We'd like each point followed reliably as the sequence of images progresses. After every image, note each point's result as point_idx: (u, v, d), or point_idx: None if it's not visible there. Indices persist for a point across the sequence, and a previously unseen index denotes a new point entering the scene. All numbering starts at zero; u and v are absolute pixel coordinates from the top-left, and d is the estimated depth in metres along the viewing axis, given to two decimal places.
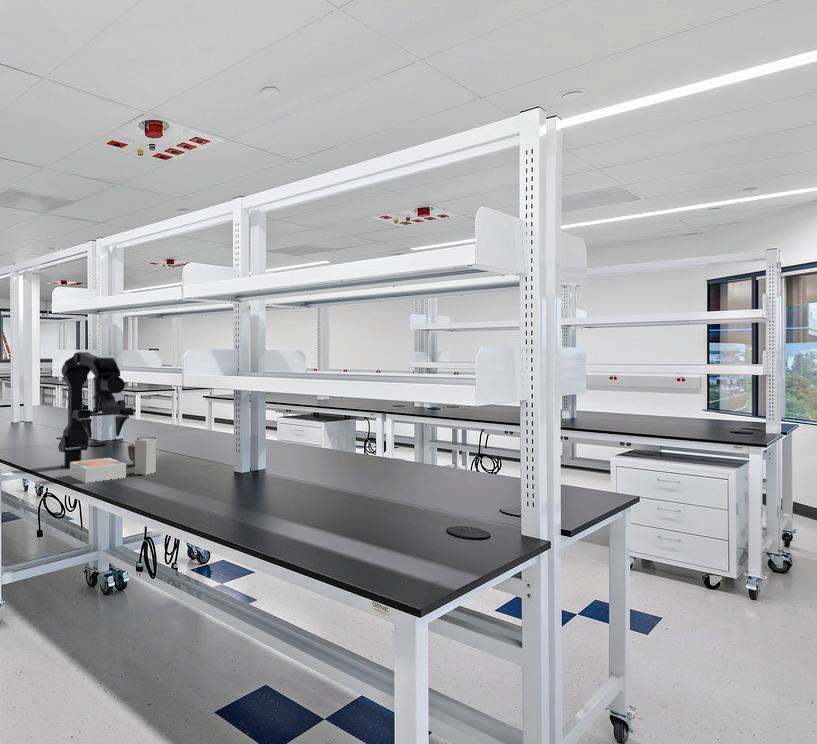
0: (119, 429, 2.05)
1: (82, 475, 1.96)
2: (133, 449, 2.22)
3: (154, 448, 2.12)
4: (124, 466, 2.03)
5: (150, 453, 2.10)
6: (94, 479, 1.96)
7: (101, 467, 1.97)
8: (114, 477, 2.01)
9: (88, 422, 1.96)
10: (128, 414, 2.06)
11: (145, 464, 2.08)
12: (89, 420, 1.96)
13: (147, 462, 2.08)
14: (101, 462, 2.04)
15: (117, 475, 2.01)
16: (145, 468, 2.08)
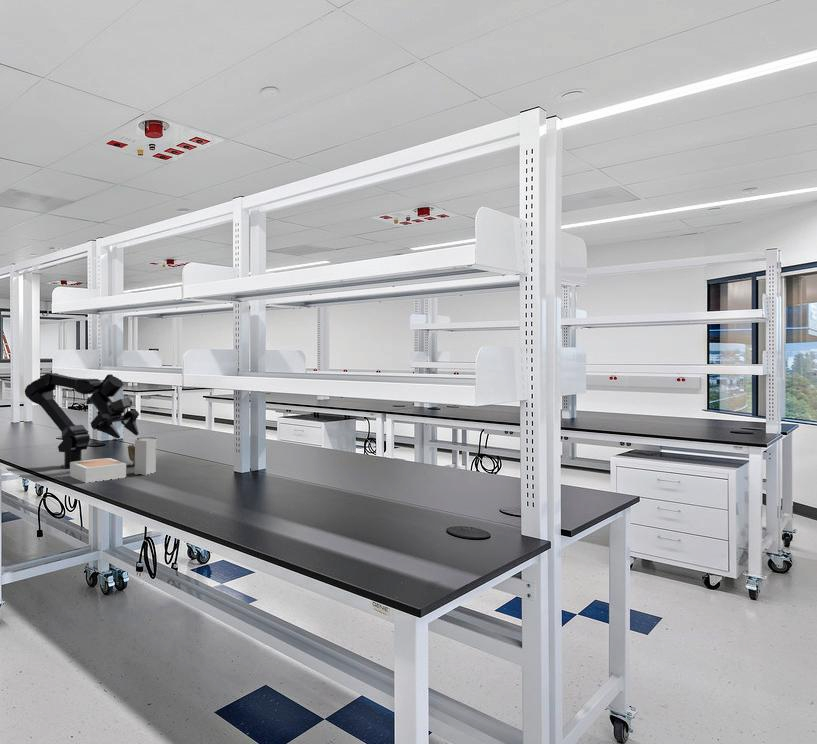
0: (135, 428, 2.18)
1: (82, 475, 1.96)
2: (133, 449, 2.22)
3: (154, 448, 2.12)
4: (124, 466, 2.03)
5: (150, 453, 2.10)
6: (94, 479, 1.96)
7: (101, 467, 1.97)
8: (114, 477, 2.01)
9: (110, 422, 2.08)
10: (135, 413, 2.21)
11: (145, 464, 2.08)
12: (110, 420, 2.08)
13: (147, 462, 2.08)
14: (101, 462, 2.04)
15: (117, 475, 2.01)
16: (145, 468, 2.08)
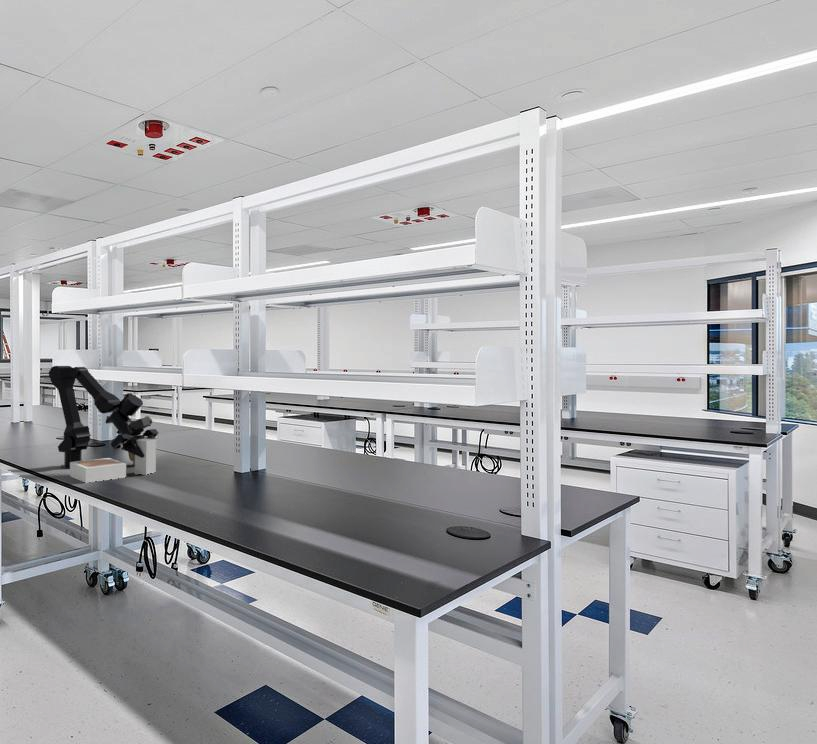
0: None
1: (82, 475, 1.96)
2: None
3: (154, 448, 2.12)
4: (124, 466, 2.03)
5: (150, 452, 2.10)
6: (94, 479, 1.96)
7: (101, 467, 1.97)
8: (114, 477, 2.01)
9: (134, 442, 2.07)
10: (154, 432, 2.18)
11: (145, 464, 2.08)
12: (135, 439, 2.07)
13: (147, 462, 2.08)
14: (101, 462, 2.04)
15: (117, 475, 2.01)
16: (145, 468, 2.08)
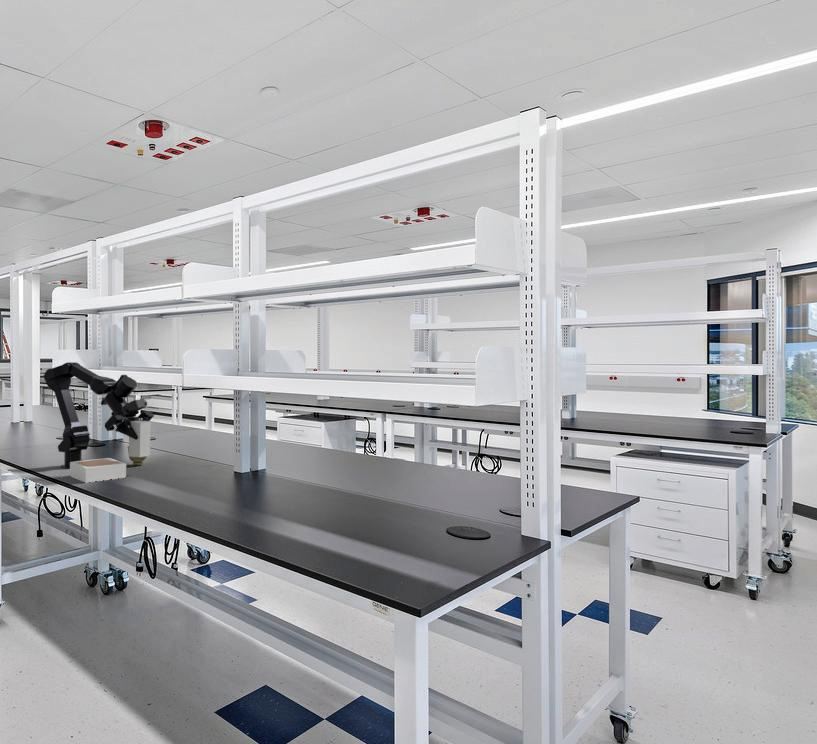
0: None
1: (82, 475, 1.96)
2: None
3: (148, 430, 2.10)
4: (124, 466, 2.03)
5: (144, 435, 2.08)
6: (94, 479, 1.96)
7: (101, 467, 1.97)
8: (114, 477, 2.01)
9: (128, 423, 2.06)
10: (150, 414, 2.16)
11: (139, 446, 2.06)
12: (129, 420, 2.06)
13: (141, 444, 2.07)
14: (101, 462, 2.04)
15: (117, 475, 2.01)
16: (139, 450, 2.06)
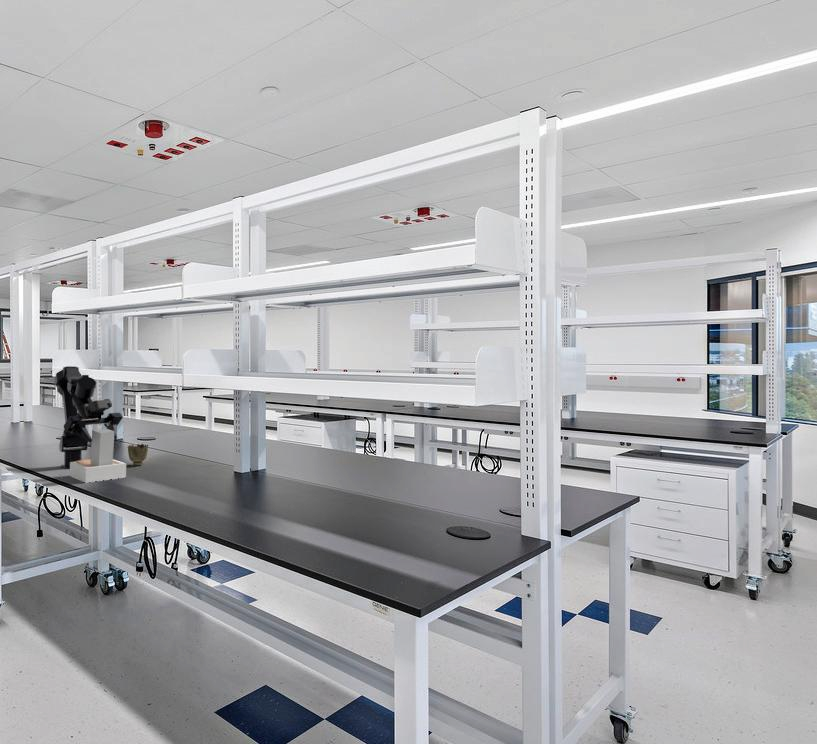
0: (115, 431, 2.05)
1: (82, 475, 1.96)
2: (133, 449, 2.22)
3: (111, 440, 2.01)
4: (124, 466, 2.03)
5: (105, 445, 1.99)
6: (94, 479, 1.96)
7: (101, 467, 1.97)
8: (114, 477, 2.01)
9: (83, 425, 1.97)
10: (117, 416, 2.08)
11: (98, 457, 1.98)
12: (83, 422, 1.97)
13: (100, 454, 1.98)
14: None
15: (117, 475, 2.01)
16: (98, 461, 1.98)
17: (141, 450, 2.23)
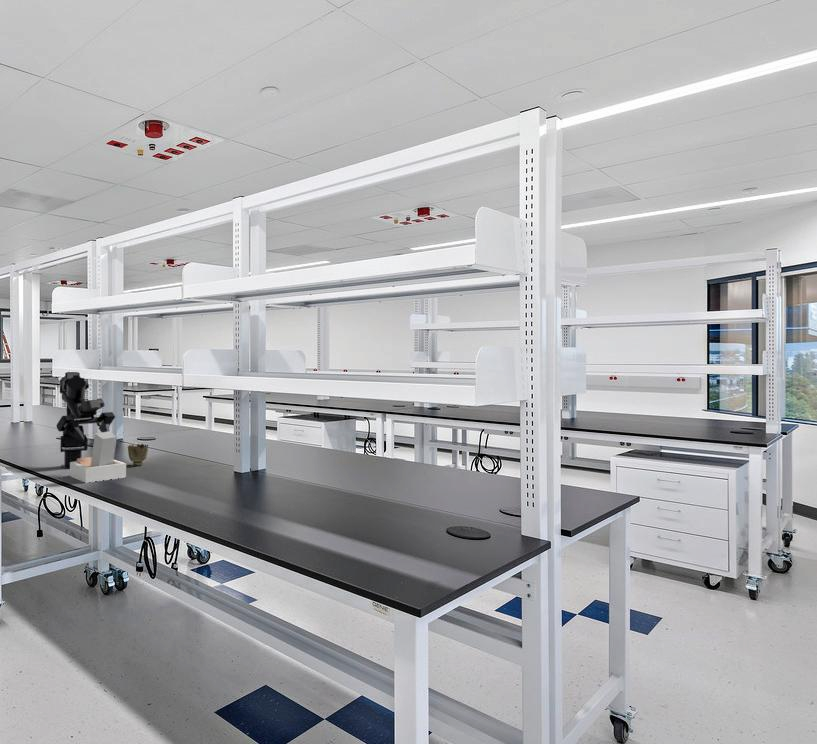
0: (107, 431, 2.08)
1: (82, 475, 1.96)
2: (133, 449, 2.22)
3: (113, 445, 2.00)
4: (124, 466, 2.03)
5: (106, 450, 1.98)
6: (94, 479, 1.96)
7: (101, 467, 1.97)
8: (114, 477, 2.01)
9: (75, 425, 1.99)
10: (110, 415, 2.11)
11: (99, 461, 1.98)
12: (75, 422, 1.99)
13: (101, 459, 1.98)
14: None
15: (117, 475, 2.01)
16: (98, 465, 1.98)
17: (141, 450, 2.23)
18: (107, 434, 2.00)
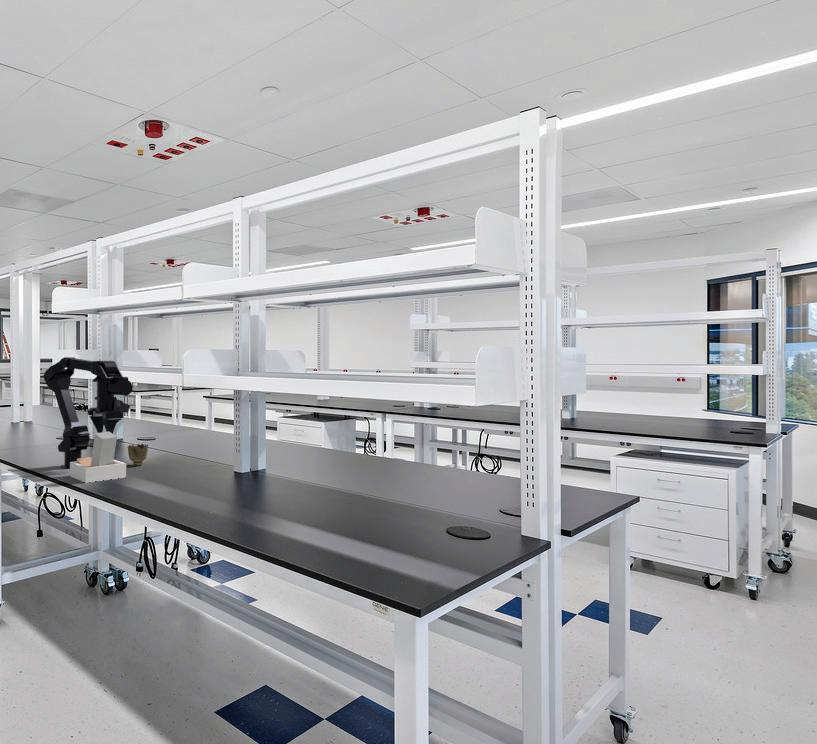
0: (102, 427, 2.18)
1: (82, 475, 1.96)
2: (133, 449, 2.22)
3: (113, 445, 2.00)
4: (124, 466, 2.03)
5: (106, 450, 1.98)
6: (94, 479, 1.96)
7: (101, 467, 1.97)
8: (114, 477, 2.01)
9: None
10: None
11: (99, 461, 1.98)
12: None
13: (101, 459, 1.98)
14: None
15: (117, 475, 2.01)
16: (98, 465, 1.98)
17: (141, 450, 2.23)
18: (107, 434, 2.00)
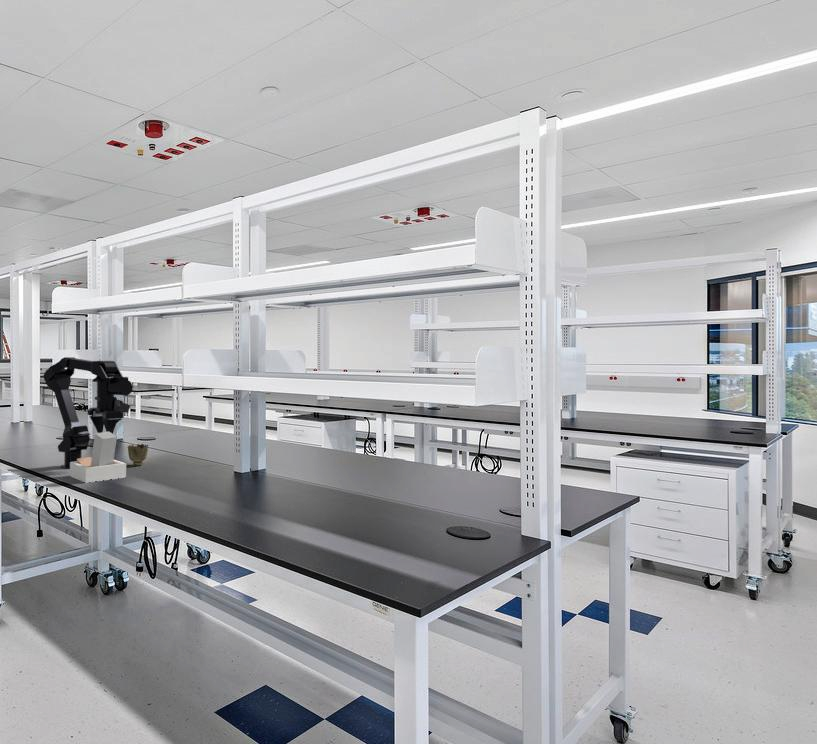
0: (102, 427, 2.18)
1: (82, 475, 1.96)
2: (133, 449, 2.22)
3: (113, 445, 2.00)
4: (124, 466, 2.03)
5: (106, 450, 1.98)
6: (94, 479, 1.96)
7: (101, 467, 1.97)
8: (114, 477, 2.01)
9: None
10: None
11: (99, 461, 1.98)
12: None
13: (101, 459, 1.98)
14: None
15: (117, 475, 2.01)
16: (98, 465, 1.98)
17: (141, 450, 2.23)
18: (107, 434, 2.00)
